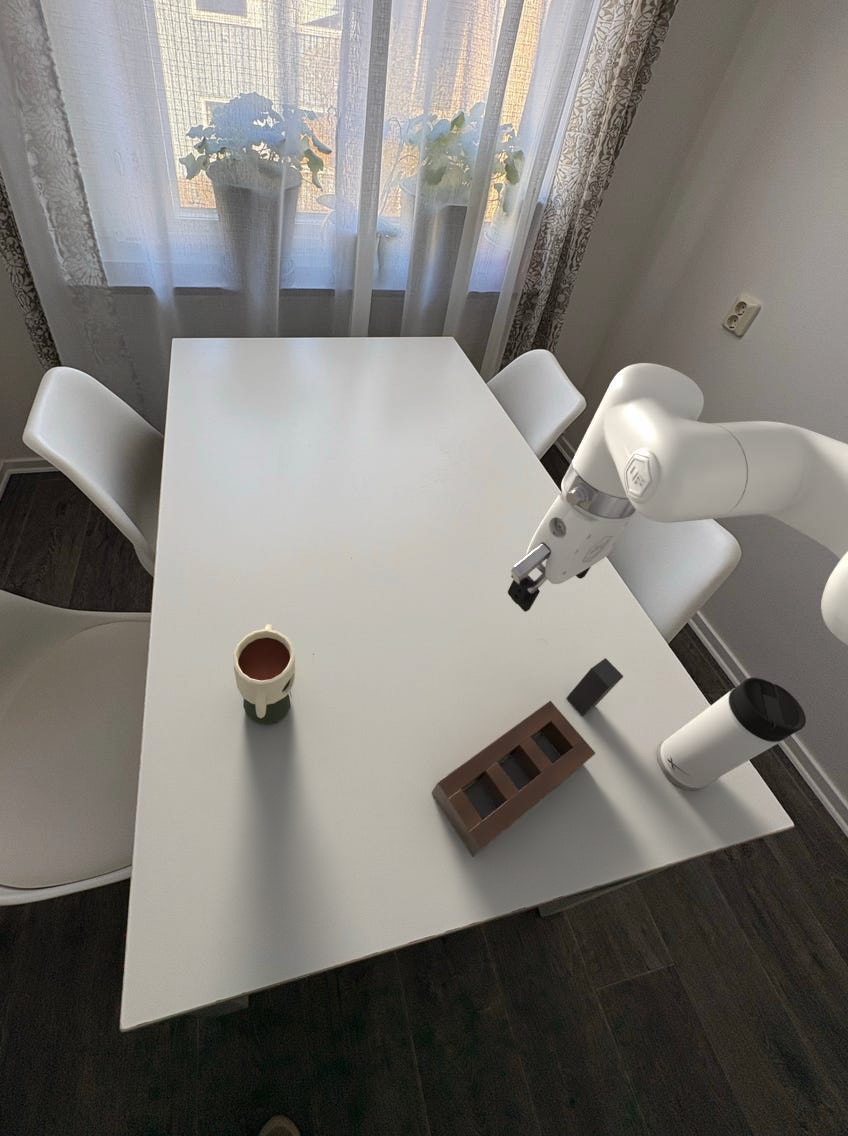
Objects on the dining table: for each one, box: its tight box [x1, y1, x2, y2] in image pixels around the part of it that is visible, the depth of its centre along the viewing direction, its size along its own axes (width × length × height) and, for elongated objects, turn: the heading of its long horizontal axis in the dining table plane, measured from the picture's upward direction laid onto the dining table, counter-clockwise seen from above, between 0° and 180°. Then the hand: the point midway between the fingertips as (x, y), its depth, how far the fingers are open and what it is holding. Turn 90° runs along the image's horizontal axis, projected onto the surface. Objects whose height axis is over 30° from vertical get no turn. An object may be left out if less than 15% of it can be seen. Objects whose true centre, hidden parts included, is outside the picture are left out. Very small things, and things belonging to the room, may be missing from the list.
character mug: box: [232, 623, 296, 725], centre depth 66 cm, size 11×7×13 cm, turn 2°
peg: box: [565, 657, 624, 717], centre depth 72 cm, size 3×3×9 cm
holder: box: [431, 700, 596, 857], centre depth 66 cm, size 8×19×4 cm, turn 123°
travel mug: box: [656, 677, 807, 791], centre depth 63 cm, size 6×7×20 cm
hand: (546, 585), depth 65 cm, fingers open, 9 cm apart
